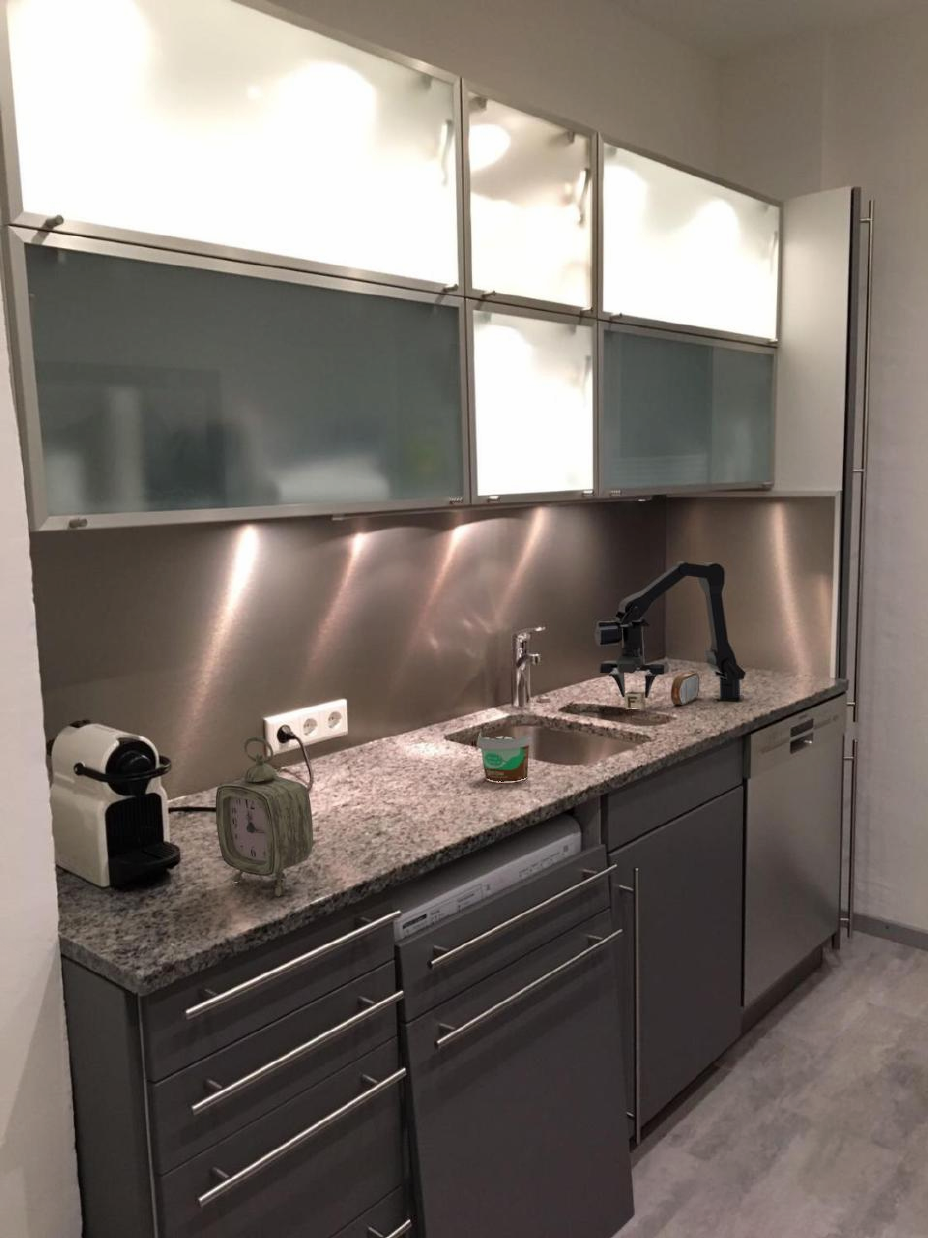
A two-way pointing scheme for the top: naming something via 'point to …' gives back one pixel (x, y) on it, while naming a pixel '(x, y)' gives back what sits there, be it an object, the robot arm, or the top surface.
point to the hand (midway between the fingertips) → (635, 697)
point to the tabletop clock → (264, 821)
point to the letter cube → (635, 699)
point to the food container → (505, 757)
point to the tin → (685, 688)
